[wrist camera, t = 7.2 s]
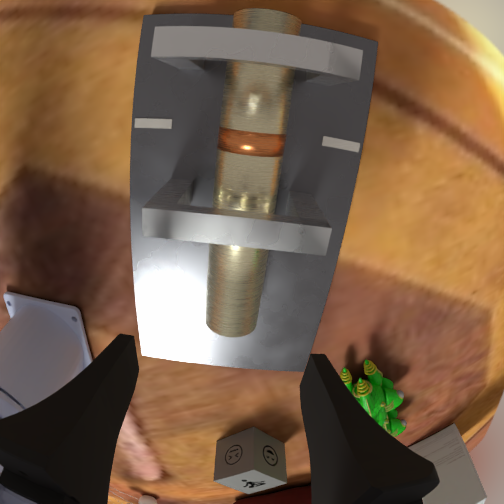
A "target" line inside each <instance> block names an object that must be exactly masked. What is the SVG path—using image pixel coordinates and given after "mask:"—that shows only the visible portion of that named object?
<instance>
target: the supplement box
mask: <svg viewBox="0 0 504 504" xmlns="http://www.w3.org/2000/svg"><path fill="white" fill-rule="evenodd" d="M408 448H409V449H410V450H412V451H413V452H415V453H417V454H418V455H420V456H422V457H424V458H425V459H427V460H429V461H431V462H433V464H434V466H435V468H436V470H437V473H438V477H439V480H440V483H439V484H438V486H437V487H436V488H435V489H434V490H433V491H431V492H430V493H429V494H427V495H426V496H425V497H423V498H422V499H423V503H424V504H447V503H450V504H484V502H485V500H486V498H487V495H486V493H485V491H484V488H483V486H482V484H481V481H480V479H479V476H478V474H477V471H476V469H475V467H474V464H473V462H472V459H471V457H470V455H469V452H468V450H467V448H466V445H465V443H464V441H463V439H462V437H461V435H460V433H459V431H458V429H457V427H456V425H455V423H454V424H452V425H450V426H449V427H447V428H445V429H443V430H441V431H440V432H438V433H436V434H434V435H432V436H430V437H428V438H426V439H424V440H422V441H420V442H418V443H416V444H414V445H412V446H410V447H408Z"/></svg>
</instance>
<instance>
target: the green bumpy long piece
mask: <svg viewBox="0 0 504 504" xmlns="http://www.w3.org/2000/svg"><path fill="white" fill-rule="evenodd" d="M364 372H365V374H366V375H368V379H364V380H362V379H361V378H359V381H358V382H356V383H354V384H352V382H351V381H352V376H351V374H350V372H349V370H348V369H346V368H345V367H344V368H343V369H342V371H341V373H340V378H341V379H342V381H343V382H344V384H345V385H346V386H347V388H348V389H349V390H350V392H351V393H352V394H353V396H354V397H355V398H356V400H357V401H358V402H359V403H360V404H361V406H362V407H363V408H364V409H365V410H366V411H367V413H368V414H369V415H370V416H371V417H372V418H373V419H374V420H375V421H376V422H377V423H378V424H379V425H380V426H381V427H382V428H383V429H384V430H386V431H387V432H388V433H389V434H390V435H392V436H393V437H395V436H397V435H399V434H400V433H402V432H403V431H404V430H405V428H406V424H407V422H406V421H405V420H399V419H395V418H396V417H397V415H398V412H397V411H396V410H395V408H397V407H398V406H399V405H400V404H401V403H402V402H403V397H404V393H403V392H402V391H400V390H398V391H397V390H394V389H393V382H392V381H391V380H389V379H387V378H382V377H383V373H382V372H380V371H379V370H378V369H377V367H376V365H375V364H374V363H373V362H372V361H370V360H365V362H364ZM381 374H382V376H381Z"/></svg>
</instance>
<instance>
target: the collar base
mask: <svg viewBox="0 0 504 504" xmlns="http://www.w3.org/2000/svg"><path fill="white" fill-rule="evenodd" d="M233 16H234V15H221V14H155V15H144V18H143V24H142V30H141V37H140V44H139V51H138V60H137V68H136V78H135V88H134V100H133V114H132V131H131V157H130V218H131V245H132V263H133V277H134V289H135V300H136V310H137V320H138V328H139V336H140V344H141V351H142V355H144V356H150V357H156V358H163V359H169V360H176V361H183V362H191V363H199V364H207V365H216V366H226V367H237V368H248V369H262V370H277V371H298V372H304V370H305V367H306V364H307V361H308V358H309V355H310V352H311V349H312V345H313V342H314V339H315V336H316V333H317V330H318V326H319V323H320V320H321V316H322V313H323V310H324V306H325V303H326V299H327V296H328V292H329V289H330V285H331V282H332V278H333V274H334V270H335V267H336V263H337V259H338V255H339V251H340V247H341V243H342V239H343V235H344V231H345V227H346V223H347V219H348V214H349V210H350V206H351V201H352V197H353V192H354V187H355V183H356V178H357V173H358V168H359V163H360V158H361V153H362V147H363V142H364V136H365V131H366V125H367V119H368V113H369V107H370V100H371V94H372V87H373V79H374V72H375V64H376V56H377V47H378V42H376V41H373V40H369V39H366V38H362V37H359V36H355V35H351V34H347V33H343V32H339V31H335V30H330V29H326V28H321V27H316V26H311V25H306V24H301V30H300V36H296V35H289V34H283V33H276V32H268V31H260V30H251V29H240V28H232V22H233ZM227 62H239V63H249V64H258V65H267V66H274V67H281V68H288V69H294V70H295V75H294V82H293V90H292V97H291V104H290V111H289V118H288V125H287V132H286V141H285V148H284V155H283V160H282V167H281V173H280V180H279V187H278V193H277V200H276V207H275V213H274V214H268V213H259V212H250V211H241V210H232V209H222V208H212V201H213V189H214V178H215V167H216V156H217V143H218V134H219V126H220V117H221V108H222V99H223V91H224V82H225V74H226V66H227ZM209 243H212V244H221V245H231V246H240V247H249V248H259V249H268V250H269V252H268V258H267V264H266V270H265V277H264V283H263V289H262V295H261V301H260V307H259V313H258V319H257V325H256V328H255V329H254V331H253V332H251V333H250V334H248V335H246V336H242V337H225V336H221V335H218V334H216V333H214V332H213V331H211V330H210V329H209V328H208V326H207V325H206V322H205V309H206V290H207V272H208V256H209Z"/></svg>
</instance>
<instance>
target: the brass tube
mask: <svg viewBox="0 0 504 504" xmlns="http://www.w3.org/2000/svg"><path fill="white" fill-rule="evenodd" d="M232 28H240V29H251V30H260V31H268V32H276V33H283V34H289V35H296V36H300V30H301V20H300V19H299V18H298V17H296V16H294V15H291V14H289V13H285V12H282V11H277V10H271V9H261V8H251V9H242V10H239V11H236V12H235V13H234V16H233V22H232ZM294 75H295V70H294V69H288V68H281V67H274V66H267V65H258V64H249V63H239V62H227V66H226V74H225V82H224V91H223V99H222V108H221V117H220V126H219V134H218V143H217V156H216V167H215V178H214V189H213V201H212V208H222V209H232V210H241V211H250V212H259V213H268V214H274V213H275V207H276V200H277V193H278V187H279V180H280V173H281V167H282V160H283V155H284V148H285V141H286V132H287V125H288V118H289V111H290V104H291V97H292V90H293V82H294ZM268 252H269V250H268V249H259V248H249V247H240V246H231V245H221V244H212V243H209V256H208V272H207V290H206V309H205V322H206V325H207V326H208V328H209V329H210V330H211V331H213V332H214V333H216V334H218V335H221V336H225V337H242V336H246V335H248V334H250V333H251V332H253V331H254V329H255V328H256V325H257V319H258V313H259V307H260V301H261V295H262V289H263V283H264V277H265V270H266V264H267V258H268Z"/></svg>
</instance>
